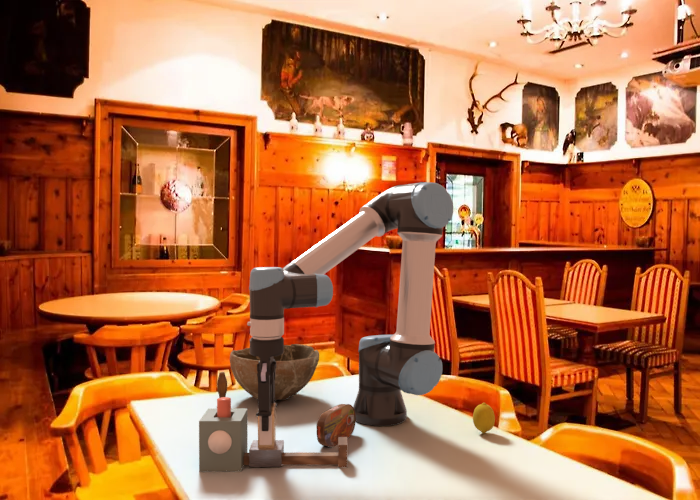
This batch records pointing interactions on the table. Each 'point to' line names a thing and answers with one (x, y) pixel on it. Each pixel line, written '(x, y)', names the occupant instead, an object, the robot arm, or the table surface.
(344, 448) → the rail
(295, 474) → the table surface
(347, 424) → the tin
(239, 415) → the grey hole block
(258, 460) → the block
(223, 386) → the hand bell
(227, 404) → the red rounded peg
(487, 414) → the lemon
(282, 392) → the bowl
